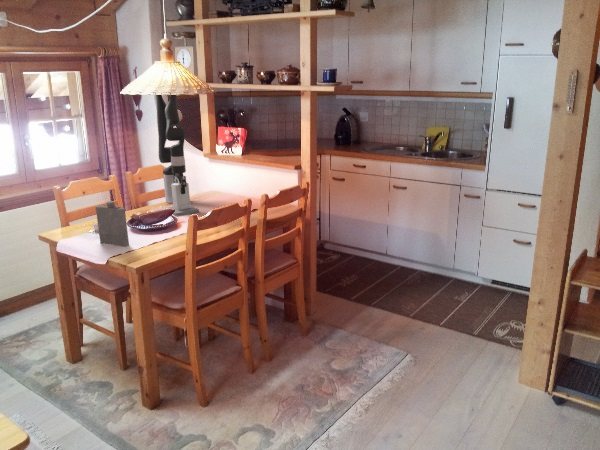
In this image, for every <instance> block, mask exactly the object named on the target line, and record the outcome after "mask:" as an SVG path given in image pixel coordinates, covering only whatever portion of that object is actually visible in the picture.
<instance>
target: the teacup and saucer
mask: <svg viewBox="0 0 600 450" xmlns="http://www.w3.org/2000/svg"><path fill="white" fill-rule="evenodd" d="M91 227H92V229H90V230H89V231H88V232H89V233H91V234H99V229H98V222H95V223H92V224H91ZM93 231H94V232H93Z"/></svg>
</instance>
